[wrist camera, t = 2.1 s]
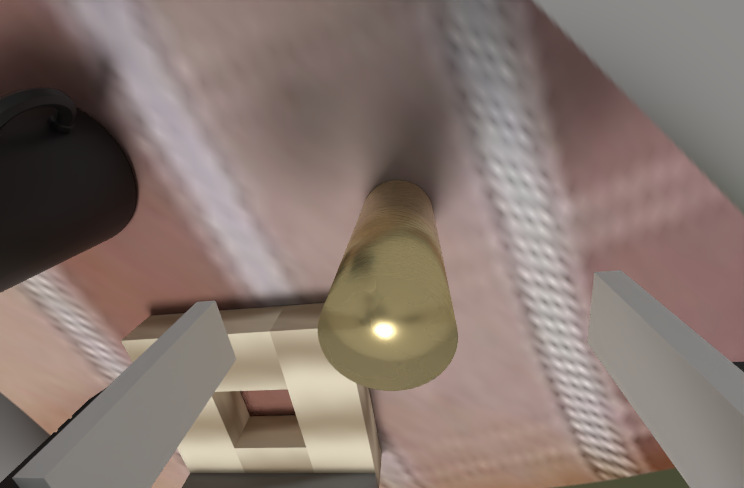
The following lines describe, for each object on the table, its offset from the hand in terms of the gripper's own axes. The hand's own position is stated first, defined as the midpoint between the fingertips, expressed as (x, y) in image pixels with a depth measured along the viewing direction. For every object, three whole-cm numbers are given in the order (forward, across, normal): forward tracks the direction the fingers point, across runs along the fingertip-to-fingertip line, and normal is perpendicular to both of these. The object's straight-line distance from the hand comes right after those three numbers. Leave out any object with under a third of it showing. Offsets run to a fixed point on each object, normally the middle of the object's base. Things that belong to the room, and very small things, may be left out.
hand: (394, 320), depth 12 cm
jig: (+11, -12, -14) cm, 21 cm away
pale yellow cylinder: (+11, 0, 0) cm, 11 cm away
